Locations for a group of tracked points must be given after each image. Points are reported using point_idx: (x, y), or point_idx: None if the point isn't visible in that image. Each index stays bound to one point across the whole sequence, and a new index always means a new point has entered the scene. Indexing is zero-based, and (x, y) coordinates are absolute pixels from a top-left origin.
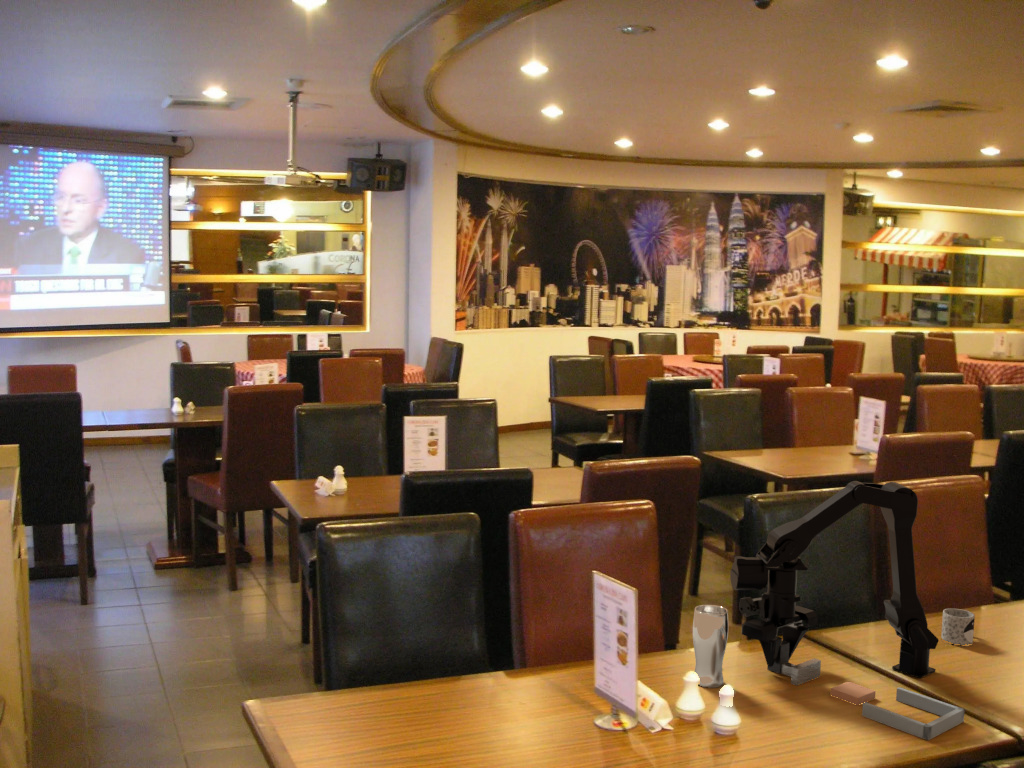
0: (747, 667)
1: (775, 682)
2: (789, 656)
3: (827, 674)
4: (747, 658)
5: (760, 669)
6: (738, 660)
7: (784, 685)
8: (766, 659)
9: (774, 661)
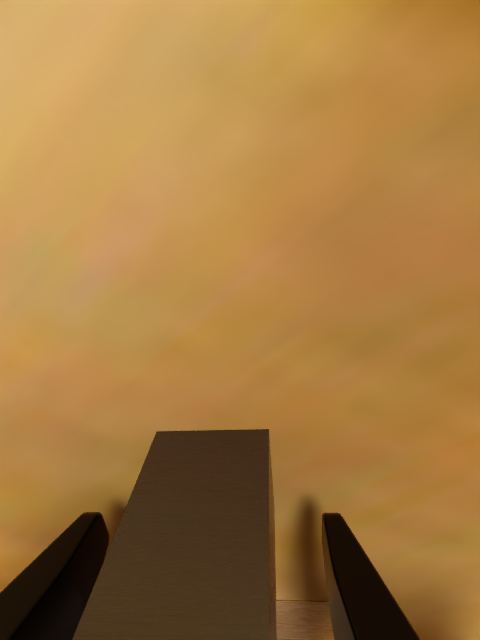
0: (35, 324)
1: None
2: (329, 595)
3: (424, 631)
4: (191, 158)
5: (110, 403)
6: (59, 147)
7: None
8: (39, 565)
9: None
